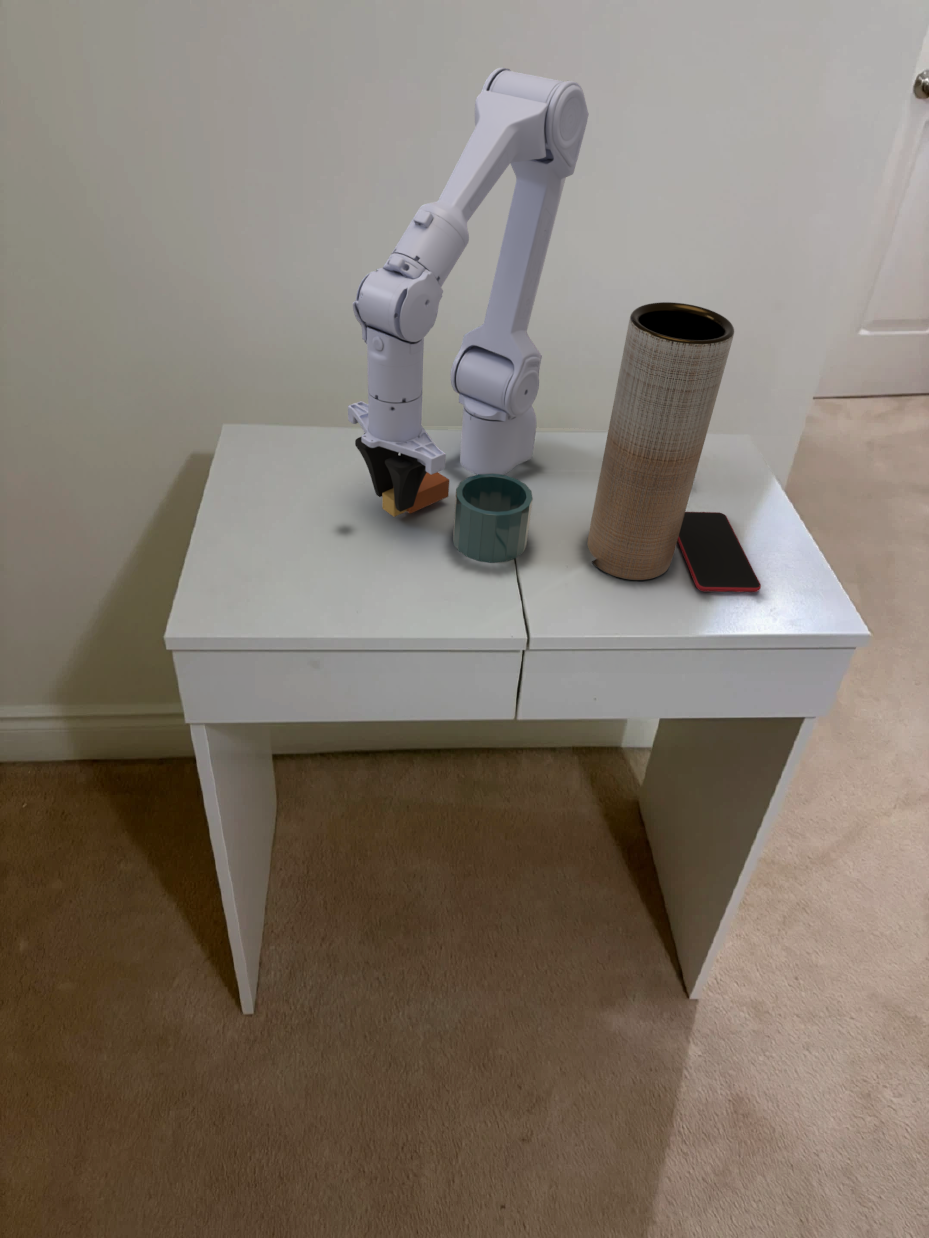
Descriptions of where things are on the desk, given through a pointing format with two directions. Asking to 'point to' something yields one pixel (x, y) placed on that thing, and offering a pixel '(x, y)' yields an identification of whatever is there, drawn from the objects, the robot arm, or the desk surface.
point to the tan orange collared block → (420, 494)
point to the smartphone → (715, 554)
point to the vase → (656, 435)
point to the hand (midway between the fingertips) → (394, 500)
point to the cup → (492, 517)
